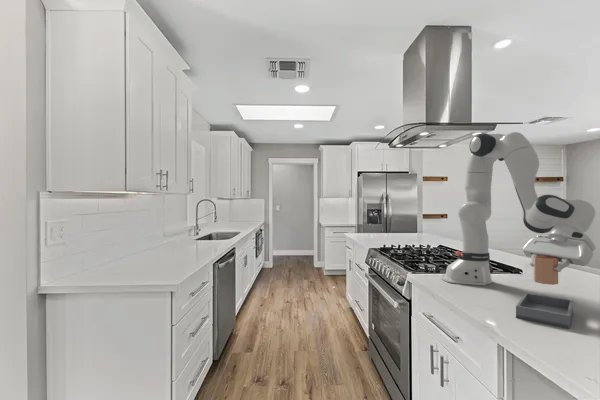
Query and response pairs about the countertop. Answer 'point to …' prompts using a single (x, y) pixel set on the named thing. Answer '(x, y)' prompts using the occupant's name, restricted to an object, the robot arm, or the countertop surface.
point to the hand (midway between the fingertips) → (544, 268)
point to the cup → (545, 270)
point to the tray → (545, 310)
